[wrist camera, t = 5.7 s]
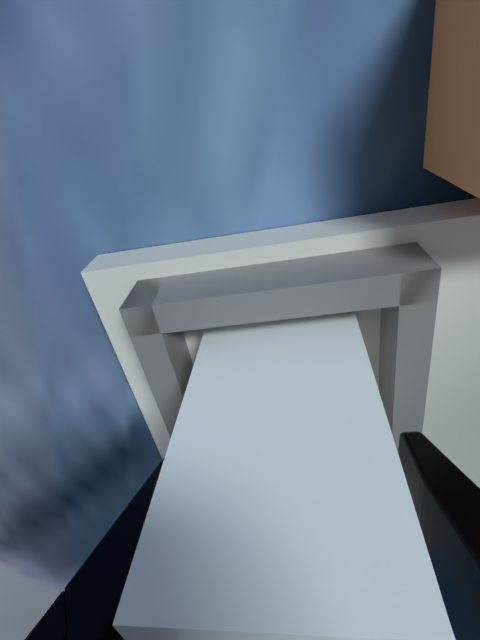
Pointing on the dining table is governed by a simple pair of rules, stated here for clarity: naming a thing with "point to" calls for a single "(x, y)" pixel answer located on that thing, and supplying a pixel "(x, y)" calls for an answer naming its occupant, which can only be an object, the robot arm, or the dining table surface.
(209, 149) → the dining table surface
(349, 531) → the block
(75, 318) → the dining table surface
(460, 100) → the cable plug
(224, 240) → the board
